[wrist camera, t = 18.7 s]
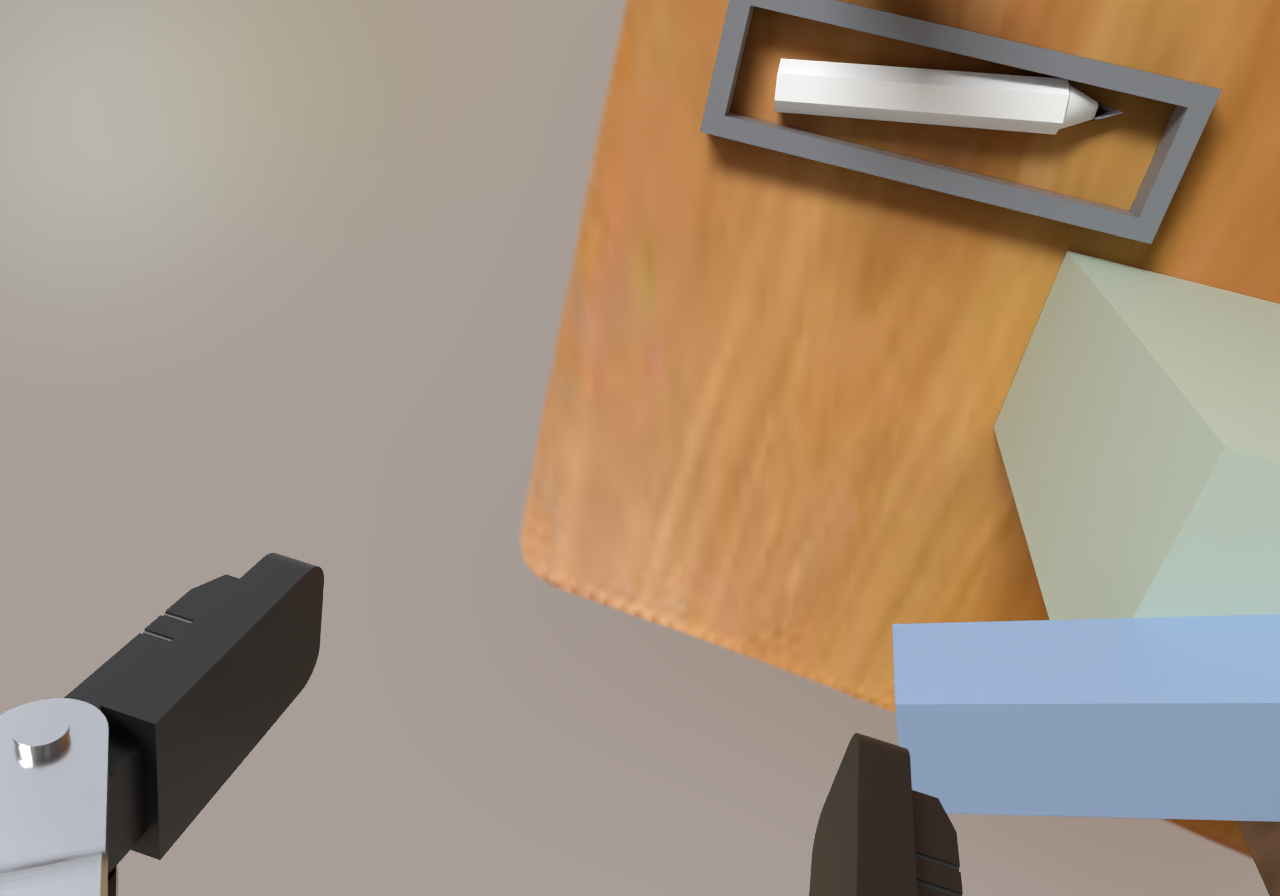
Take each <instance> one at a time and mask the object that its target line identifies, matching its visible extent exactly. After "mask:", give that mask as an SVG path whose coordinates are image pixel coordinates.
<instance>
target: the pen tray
mask: <svg viewBox="0 0 1280 896" xmlns="http://www.w3.org/2000/svg"><path fill="white" fill-rule="evenodd" d="M754 6H755V7H760V8H764V9H768V10H773V11H777V12H781V13H785V14H790V15H794V16H798V17H802V18H807V19H811V20H815V21H820V22H824V23H828V24H832V25H837V26H841V27H845V28H850V29H854V30H858V31H862V32H867V33H871V34H875V35H880V36H884V37H888V38H892V39H897V40H901V41H905V42H910V43H914V44H918V45H922V46H927V47H931V48H935V49H939V50H944V51H948V52H952V53H957V54H961V55H965V56H969V57H974V58H978V59H982V60H987V61H991V62H995V63H999V64H1004V65H1008V66H1012V67H1017V68H1021V69H1025V70H1029V71H1034V72H1038V73H1042V74H1047V75H1051V76H1055V77H1059V78H1064V79H1068V80H1072V81H1076V82H1081V83H1085V84H1089V85H1094V86H1098V87H1102V88H1106V89H1111V90H1115V91H1119V92H1124V93H1128V94H1132V95H1136V96H1141V97H1145V98H1149V99H1154V100H1158V101H1162V102H1166V103H1171V104H1175V105H1176V106H1175V109H1174V111H1173V113H1172V115H1171V118H1170V120H1169V122H1168V125H1167V127H1166V129H1165V131H1164V134H1163V136H1162V138H1161V141H1160V143H1159V145H1158V147H1157V150H1156V152H1155V154H1154V157H1153V159H1152V161H1151V163H1150V166H1149V168H1148V170H1147V173H1146V175H1145V177H1144V179H1143V182H1142V184H1141V186H1140V189H1139V191H1138V193H1137V195H1136V198H1135V200H1134V202H1133V205H1132V207H1131V209H1130V211H1128V210H1124V209H1120V208H1116V207H1112V206H1108V205H1104V204H1100V203H1096V202H1092V201H1088V200H1083V199H1079V198H1075V197H1071V196H1067V195H1063V194H1059V193H1055V192H1051V191H1047V190H1043V189H1039V188H1035V187H1031V186H1027V185H1023V184H1019V183H1014V182H1010V181H1006V180H1002V179H998V178H994V177H990V176H986V175H982V174H978V173H974V172H970V171H966V170H962V169H958V168H954V167H949V166H945V165H941V164H937V163H933V162H929V161H925V160H921V159H917V158H913V157H909V156H905V155H901V154H897V153H893V152H889V151H884V150H880V149H876V148H872V147H868V146H864V145H860V144H856V143H852V142H848V141H844V140H840V139H836V138H832V137H828V136H824V135H820V134H815V133H811V132H807V131H803V130H799V129H795V128H791V127H787V126H783V125H779V124H775V123H771V122H767V121H763V120H759V119H755V118H750V117H746V116H742V115H738V114H734V113H730V108H731V103H732V99H733V95H734V91H735V86H736V82H737V78H738V74H739V69H740V65H741V61H742V57H743V53H744V48H745V44H746V40H747V36H748V31H749V27H750V23H751V19H752V14H753V10H754ZM1221 90H1222V89H1218V88H1214V87H1209V86H1205V85H1201V84H1196V83H1192V82H1188V81H1183V80H1179V79H1175V78H1170V77H1166V76H1162V75H1157V74H1153V73H1149V72H1144V71H1140V70H1136V69H1131V68H1127V67H1123V66H1118V65H1114V64H1110V63H1105V62H1101V61H1097V60H1092V59H1088V58H1084V57H1079V56H1075V55H1071V54H1066V53H1062V52H1058V51H1053V50H1049V49H1045V48H1040V47H1036V46H1032V45H1027V44H1023V43H1019V42H1014V41H1010V40H1006V39H1001V38H997V37H993V36H988V35H984V34H980V33H975V32H971V31H967V30H962V29H958V28H954V27H949V26H945V25H941V24H936V23H932V22H928V21H923V20H919V19H915V18H910V17H906V16H902V15H897V14H893V13H889V12H884V11H880V10H876V9H871V8H867V7H863V6H858V5H854V4H850V3H845V2H841V1H837V0H730V1H729V5H728V10H727V14H726V19H725V23H724V28H723V32H722V37H721V41H720V46H719V50H718V54H717V59H716V63H715V68H714V72H713V77H712V81H711V86H710V90H709V94H708V99H707V103H706V108H705V112H704V117H703V121H702V126H701V130H700V132H703V133H707V134H711V135H715V136H719V137H723V138H727V139H731V140H735V141H739V142H743V143H747V144H751V145H755V146H759V147H763V148H767V149H771V150H775V151H779V152H783V153H787V154H791V155H795V156H799V157H803V158H807V159H811V160H815V161H819V162H823V163H827V164H831V165H835V166H839V167H843V168H847V169H851V170H855V171H859V172H863V173H867V174H871V175H875V176H879V177H883V178H887V179H891V180H895V181H899V182H903V183H907V184H911V185H915V186H919V187H923V188H927V189H931V190H935V191H939V192H943V193H947V194H951V195H955V196H959V197H963V198H967V199H971V200H975V201H979V202H984V203H988V204H992V205H996V206H1000V207H1004V208H1008V209H1012V210H1016V211H1020V212H1024V213H1028V214H1032V215H1036V216H1040V217H1044V218H1048V219H1052V220H1056V221H1060V222H1064V223H1068V224H1072V225H1076V226H1080V227H1084V228H1088V229H1092V230H1096V231H1100V232H1104V233H1108V234H1112V235H1116V236H1120V237H1124V238H1128V239H1132V240H1136V241H1140V242H1144V243H1148V244H1152V242H1153V239H1154V237H1155V235H1156V233H1157V231H1158V228H1159V226H1160V224H1161V222H1162V220H1163V217H1164V215H1165V213H1166V211H1167V209H1168V206H1169V204H1170V202H1171V200H1172V198H1173V195H1174V193H1175V191H1176V189H1177V187H1178V184H1179V182H1180V180H1181V178H1182V176H1183V173H1184V171H1185V169H1186V167H1187V165H1188V162H1189V160H1190V158H1191V156H1192V154H1193V151H1194V149H1195V147H1196V145H1197V143H1198V141H1199V138H1200V136H1201V134H1202V132H1203V130H1204V127H1205V125H1206V123H1207V121H1208V119H1209V116H1210V114H1211V112H1212V110H1213V108H1214V105H1215V103H1216V101H1217V99H1218V97H1219V94H1220V92H1221Z"/></svg>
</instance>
